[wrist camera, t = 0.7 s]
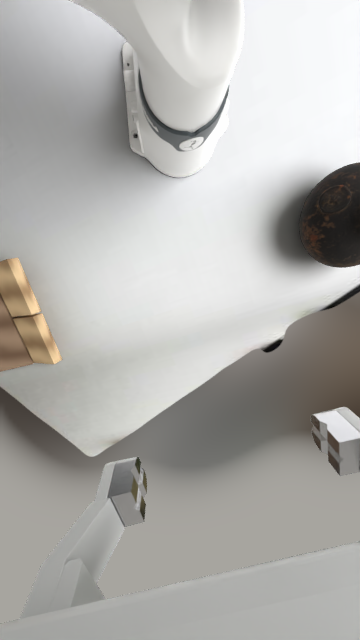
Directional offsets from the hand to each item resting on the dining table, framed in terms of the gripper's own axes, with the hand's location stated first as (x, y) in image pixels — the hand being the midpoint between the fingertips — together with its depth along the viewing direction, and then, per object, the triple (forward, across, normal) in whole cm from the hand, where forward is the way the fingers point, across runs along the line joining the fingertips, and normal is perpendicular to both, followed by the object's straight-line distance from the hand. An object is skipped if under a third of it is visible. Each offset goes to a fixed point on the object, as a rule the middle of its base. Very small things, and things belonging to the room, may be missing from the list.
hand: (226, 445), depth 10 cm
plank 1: (+40, +32, -9) cm, 52 cm away
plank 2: (+40, +32, +3) cm, 52 cm away
